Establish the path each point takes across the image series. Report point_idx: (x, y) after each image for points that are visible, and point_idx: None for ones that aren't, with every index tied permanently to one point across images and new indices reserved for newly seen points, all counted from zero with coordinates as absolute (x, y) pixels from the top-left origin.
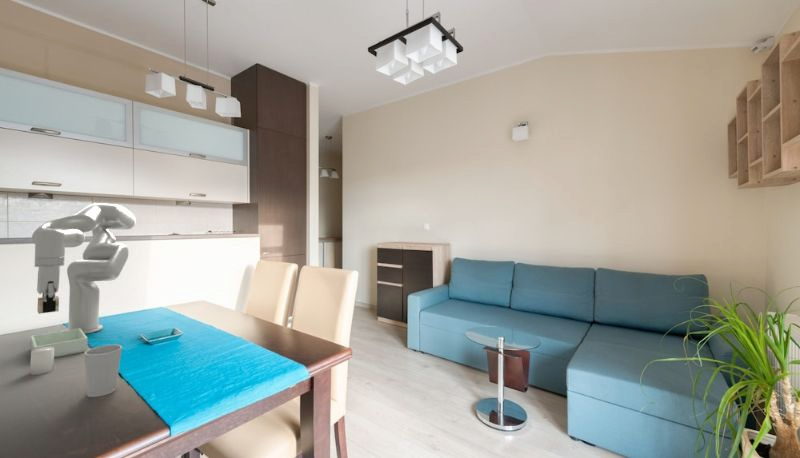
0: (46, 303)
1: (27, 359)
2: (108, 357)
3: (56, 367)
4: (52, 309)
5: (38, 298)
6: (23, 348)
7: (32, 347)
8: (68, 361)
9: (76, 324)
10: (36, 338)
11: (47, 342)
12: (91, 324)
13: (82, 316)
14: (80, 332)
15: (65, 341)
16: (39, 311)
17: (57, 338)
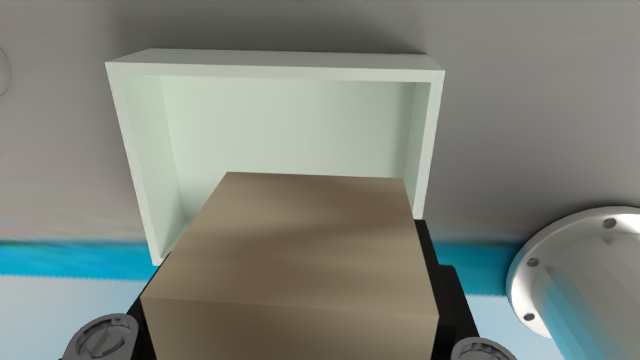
0: (128, 310)
1: (218, 28)
2: None
3: (5, 110)
4: None
5: (341, 312)
6: (482, 25)
7: (274, 58)
8: (69, 154)
9: (578, 282)
10: (424, 91)
11: (413, 128)
12: (545, 323)
13: (586, 342)
14: None
15: (142, 190)
16: (219, 190)
17: (408, 173)
